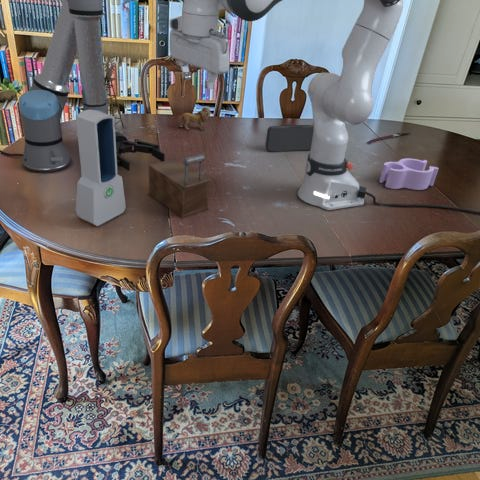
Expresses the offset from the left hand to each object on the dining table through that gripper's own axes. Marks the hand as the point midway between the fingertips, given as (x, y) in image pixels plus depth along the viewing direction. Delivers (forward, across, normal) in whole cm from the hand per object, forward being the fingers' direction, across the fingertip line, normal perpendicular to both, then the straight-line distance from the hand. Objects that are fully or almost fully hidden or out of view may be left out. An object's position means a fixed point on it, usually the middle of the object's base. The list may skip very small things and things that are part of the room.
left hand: (146, 162), depth 153 cm
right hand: (+25, 0, +32) cm, 40 cm away
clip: (+52, -79, -6) cm, 95 cm away
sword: (+22, -116, -6) cm, 118 cm away
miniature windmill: (-47, -14, -6) cm, 49 cm away
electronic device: (+13, +24, -6) cm, 28 cm away
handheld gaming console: (+8, -65, -6) cm, 65 cm away
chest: (+18, 0, -6) cm, 19 cm away
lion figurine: (-32, -45, -6) cm, 55 cm away
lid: (+18, 0, +3) cm, 18 cm away
